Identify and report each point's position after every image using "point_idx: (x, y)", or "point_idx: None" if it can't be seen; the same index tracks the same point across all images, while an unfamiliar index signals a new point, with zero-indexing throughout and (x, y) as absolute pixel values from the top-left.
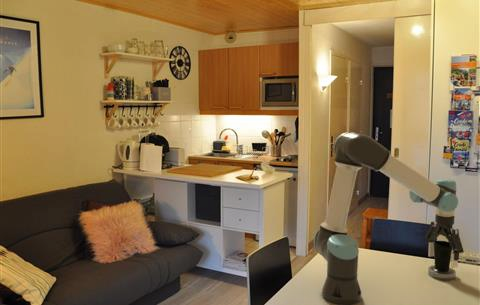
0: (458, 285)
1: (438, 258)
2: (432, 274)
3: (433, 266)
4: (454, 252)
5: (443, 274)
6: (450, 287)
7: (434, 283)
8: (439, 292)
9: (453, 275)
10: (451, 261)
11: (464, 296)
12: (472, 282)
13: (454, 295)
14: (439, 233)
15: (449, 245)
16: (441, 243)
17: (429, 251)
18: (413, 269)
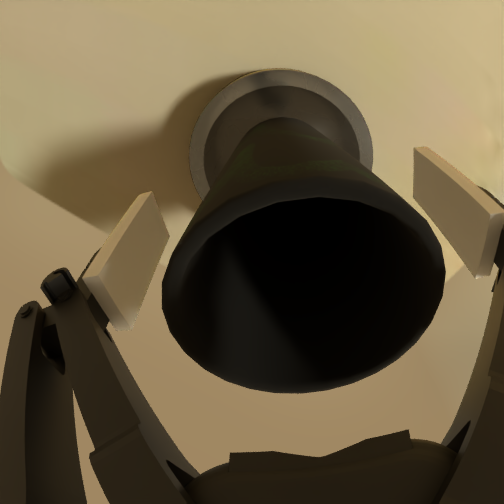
0: (131, 171)
1: (249, 142)
2: (255, 72)
3: (350, 139)
4: (44, 283)
5: (200, 129)
6: (103, 114)
7: (158, 42)
8: (49, 34)
9: (202, 194)
10: (133, 216)
11: (21, 140)
12: None
13: (24, 98)
14: (407, 452)
15: (305, 357)
16: (394, 316)
17: (440, 166)
18: (404, 33)
